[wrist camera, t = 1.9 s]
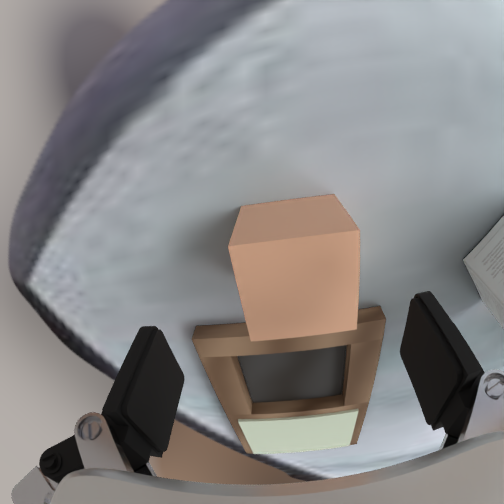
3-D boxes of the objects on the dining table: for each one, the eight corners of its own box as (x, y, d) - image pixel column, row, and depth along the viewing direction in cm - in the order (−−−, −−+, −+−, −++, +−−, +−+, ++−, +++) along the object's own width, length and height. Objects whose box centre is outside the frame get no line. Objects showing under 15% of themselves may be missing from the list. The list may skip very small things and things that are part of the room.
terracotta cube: (333, 193, 16) (359, 230, 11) (337, 273, 18) (356, 329, 13) (241, 205, 17) (228, 246, 12) (256, 283, 19) (250, 341, 14)
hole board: (380, 305, 19) (387, 321, 18) (355, 434, 29) (356, 445, 27) (196, 325, 21) (190, 341, 20) (247, 443, 31) (246, 455, 29)
